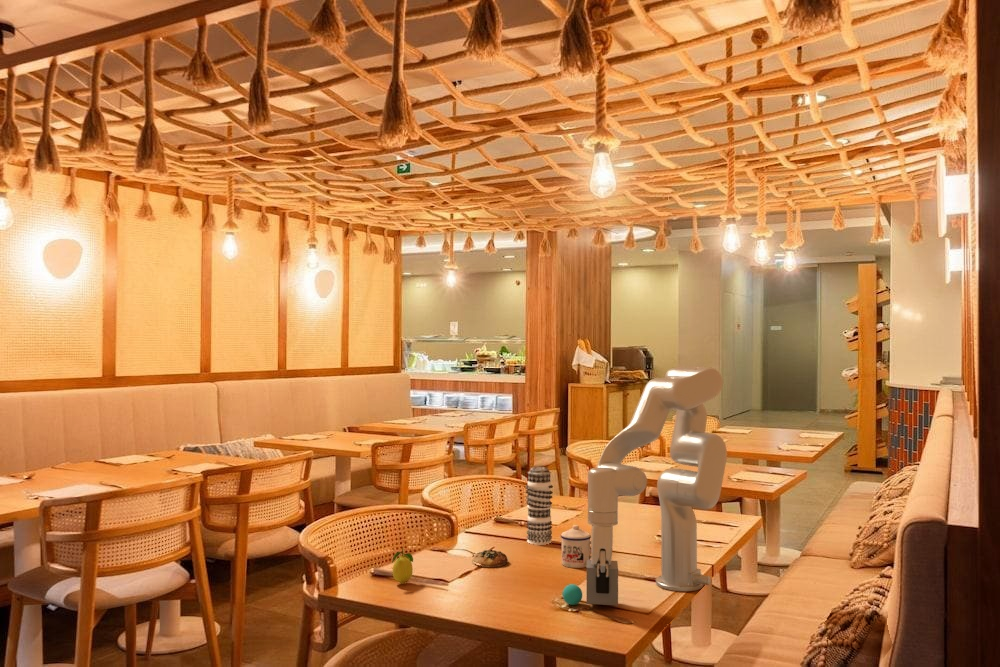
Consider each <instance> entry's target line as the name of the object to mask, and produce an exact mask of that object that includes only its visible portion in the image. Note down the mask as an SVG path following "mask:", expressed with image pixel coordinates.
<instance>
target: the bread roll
mask: <svg viewBox="0 0 1000 667" xmlns="http://www.w3.org/2000/svg"><path fill="white" fill-rule="evenodd" d="M508 560H509V559H508V557H507V555H506V554H505V553H503V552H502V551H500V550H499V551H497V550H493V549H488V550H487V549H486V550H485V549H484V550H482V551H480V552H477V553H476V554H474V555H473V557H472V560H471V561H472V562H473V561H474V562H476V563H479V564H481V566H482V567H481V566H480V567H481V568H485V569H489V568H491V569H492V568H494V569H495V568H499V567H501V568H502V567H504V566H506V565H507V563H508Z"/></svg>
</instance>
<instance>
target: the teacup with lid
mask: <svg viewBox="0 0 1000 667" xmlns="http://www.w3.org/2000/svg"><path fill="white" fill-rule="evenodd" d="M560 538H561V564H562V565H563V567H567V568H571V569H582V568H587V560H591V533H589V532H588V531H585V530H583V529H582V528H580V526H579V525H578V524H573V525H572V528H569V529H568V530H566V531H563V532H561V535H560Z"/></svg>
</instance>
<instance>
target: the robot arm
mask: <svg viewBox="0 0 1000 667" xmlns="http://www.w3.org/2000/svg"><path fill="white" fill-rule="evenodd" d="M723 383H724V382H723V377H722V375H721V373H720V372H719V371H718V370H717V369H716V368H713V367H709V366H676V367H672V368H669V369H668V370H667V371H666V373H665V375H664V377H655V378H652V379H650V380H649V381H647V382H646V384H645V386H644V388H643V390H642V393H641V395H640V398H639V399H638V402H637V405H636V407H635V409H634V411H633V415H632V417H631V419H630V421H629V424H628V425H626V426H625V428H623V429H622V430H621V431H619V432H618V433H617V434H616V435H615V436H614V437H613V438H612V439H610V441H609V442H608V443H607V445H605V447H604V449H603V451H602V453H601V455H600V457H599V460H598V462H597V465H596V467H593V468H590V469H589V470H588V472H587V524H588V525H591V529H590V530H591V533H590V535H591V538H590V541H591V544H590V556H591V559H590V560H591V564H592V565H593V566H594V564H597V576H596V593H604V594H608V593H609V577H608V565H609V566H610V565H611V561H612V558H613V557H612V556H613V543H614V542H613V541H614V540H613V538H614V530H613V529H614V526H617V525H618V524H619V523H618V522H619V521H618V520H619V519H618V518H619V515H618V513H619V511H618V507H619V505H618V504H619V496H623V497H624V496H626V497H634V496H638V495H640V494H641V493H642V492H644V491H645V489H646V487H647V486H648V485H647V484H648V477H647V475H646V474H645V472H644V471H643V470H642V469H641V468H639V467H636V466H632V465H627V464H622V462H623V460H625V459H626V457H627V456H628V455H629V454H630V453H631V452H633V451H635V450H637V449H639V448H641V447H644V446H646V445H648V444H650V443H653V442H655V441H656V440H658V439H659V437H660V436H661V434H662V431H663V428H664V426H665V423H666V421H667V418H668V417H669V414H670V411H675V421H674V425H673V430H672V436H671V442H670V446H669V456H670V458H671V460H672V461H673V462H675V463H676V464H680V465H684V466H690V467H696V468H697V471H694V470H689V469H682V468H669V469H665V470H664V471H663V472H661V474H659V476H658V478H657V483H656V489H657V495H658V499H659V506H660V518H661V519H660V525H661V526H660V530H661V532H660V533H661V534H660V536H661V537H660V538H661V540H660V542H661V543H660V546H661V554H660V555H661V557H660V558H661V559H660V561H661V562H660V563H661V575H659V576H657V577H656V578H655V584H656V585H657V586H658V587H659V586H660V588H662V589H665V590H668V591H674V592H694V591H699V590H700V589H702V588H703V587H704V585H706V586H710V585H711V582H712V581H711V580H712V579H711V576H710V575H705V574H704V575H703V574H702V572H701V568H698V551H697V550H698V538H697V537H698V535H697V534H698V533H697V532H698V528H697V527H698V526H697V525H698V524H697V516H696V514H695V511H694V509H693V508H695V509H701V510H710V509H713V507H715V506H716V505H717V503H718V501H719V498H720V496H721V493H722V487H723V482H724V481H723V480H724V476H725V472H726V470H725V469H726V465H727V457H728V451H727V446H726V442H725V441H724V439H723V438H722V437H721V436H720V435H718V434H717V433H716V434H715V433H712V432H706V428H707V423H708V422H707V421H708V413H707V410H706V407H705V405H704V404H705V403H707V402H709V401H711V400H713V399H715V398H716V397H717V396H718V395H719V394H720V393H721V391H722V388H723ZM599 562H600V564H599ZM605 563H607V564H605ZM599 567H600V568H599Z"/></svg>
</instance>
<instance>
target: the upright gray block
mask: <svg viewBox="0 0 1000 667" xmlns="http://www.w3.org/2000/svg"><path fill="white" fill-rule="evenodd" d="M599 564H600V562H599ZM605 564H607V563H605ZM599 568H600V567H599ZM596 576H597V564H594V566H593V565H592V564H591V559H590V560H587V567H586V605H603V606H605V605H606V606H619V566H618V560H611V565H610V566H609V565H608V577H609V593H608V594H604V593H596Z"/></svg>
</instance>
